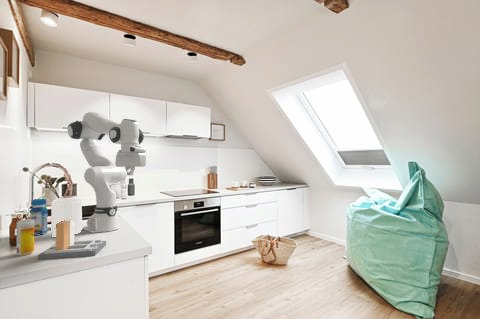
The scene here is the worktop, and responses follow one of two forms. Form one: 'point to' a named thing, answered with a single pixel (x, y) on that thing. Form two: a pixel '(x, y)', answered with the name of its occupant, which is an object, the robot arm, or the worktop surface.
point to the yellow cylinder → (25, 237)
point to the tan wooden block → (62, 235)
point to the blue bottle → (39, 216)
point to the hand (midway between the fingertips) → (130, 175)
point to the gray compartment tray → (74, 247)
